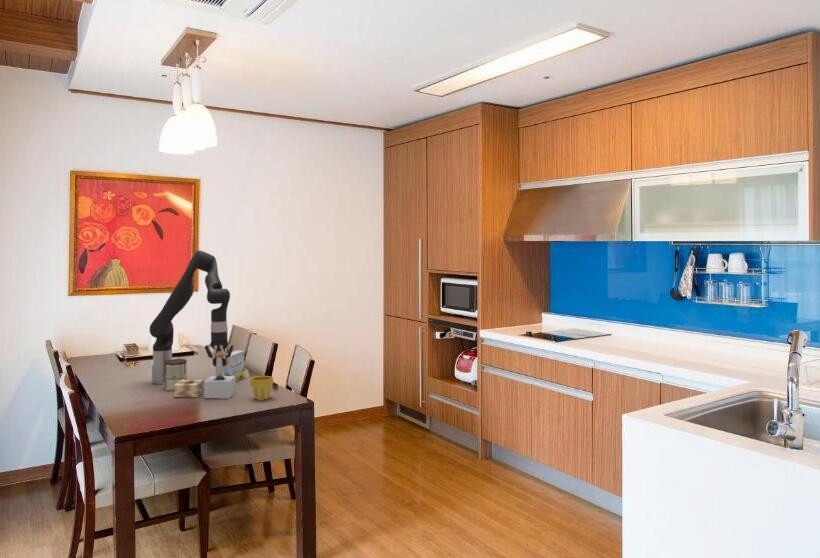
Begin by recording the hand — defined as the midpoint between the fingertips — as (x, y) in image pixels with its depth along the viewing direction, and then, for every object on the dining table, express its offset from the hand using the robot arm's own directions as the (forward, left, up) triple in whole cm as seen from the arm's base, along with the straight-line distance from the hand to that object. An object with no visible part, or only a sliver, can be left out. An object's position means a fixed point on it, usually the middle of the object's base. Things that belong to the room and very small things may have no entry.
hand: (219, 366), depth 296 cm
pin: (0, 0, -8) cm, 8 cm away
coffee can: (-25, +15, -14) cm, 33 cm away
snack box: (-1, +29, -14) cm, 32 cm away
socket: (0, 0, -14) cm, 14 cm away
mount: (-15, +2, -14) cm, 21 cm away
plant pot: (+21, -7, -14) cm, 26 cm away
